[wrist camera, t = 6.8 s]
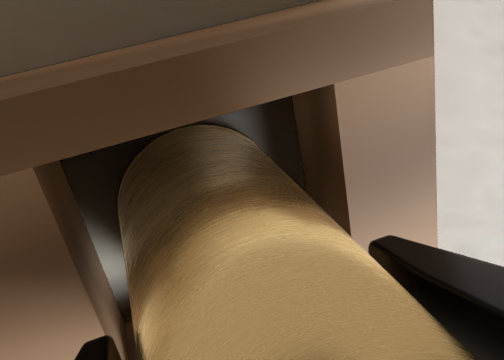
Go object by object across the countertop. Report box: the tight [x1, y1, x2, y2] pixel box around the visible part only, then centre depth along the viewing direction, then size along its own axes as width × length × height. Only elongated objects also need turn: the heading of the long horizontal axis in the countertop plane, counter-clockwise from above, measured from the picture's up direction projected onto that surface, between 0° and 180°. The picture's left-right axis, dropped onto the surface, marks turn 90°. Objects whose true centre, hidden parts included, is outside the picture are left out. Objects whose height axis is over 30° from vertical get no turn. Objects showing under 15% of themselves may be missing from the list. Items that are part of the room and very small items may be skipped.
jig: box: [0, 0, 438, 360], centre depth 11 cm, size 8×10×2 cm
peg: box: [118, 125, 478, 360], centre depth 8 cm, size 4×4×8 cm
